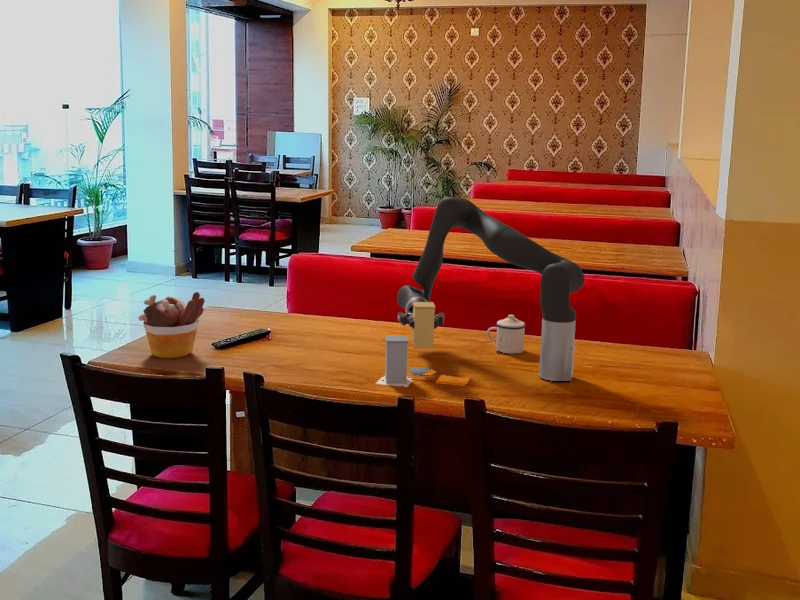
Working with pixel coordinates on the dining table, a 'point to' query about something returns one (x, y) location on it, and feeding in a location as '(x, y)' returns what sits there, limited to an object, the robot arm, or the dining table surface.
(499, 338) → the teacup with lid
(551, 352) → the robot arm
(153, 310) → the bucket of meat
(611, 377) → the dining table surface
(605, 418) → the dining table surface
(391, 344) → the slate tea tin
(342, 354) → the dining table surface
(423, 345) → the ochre tea tin
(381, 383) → the cream tile
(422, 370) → the felt coaster
